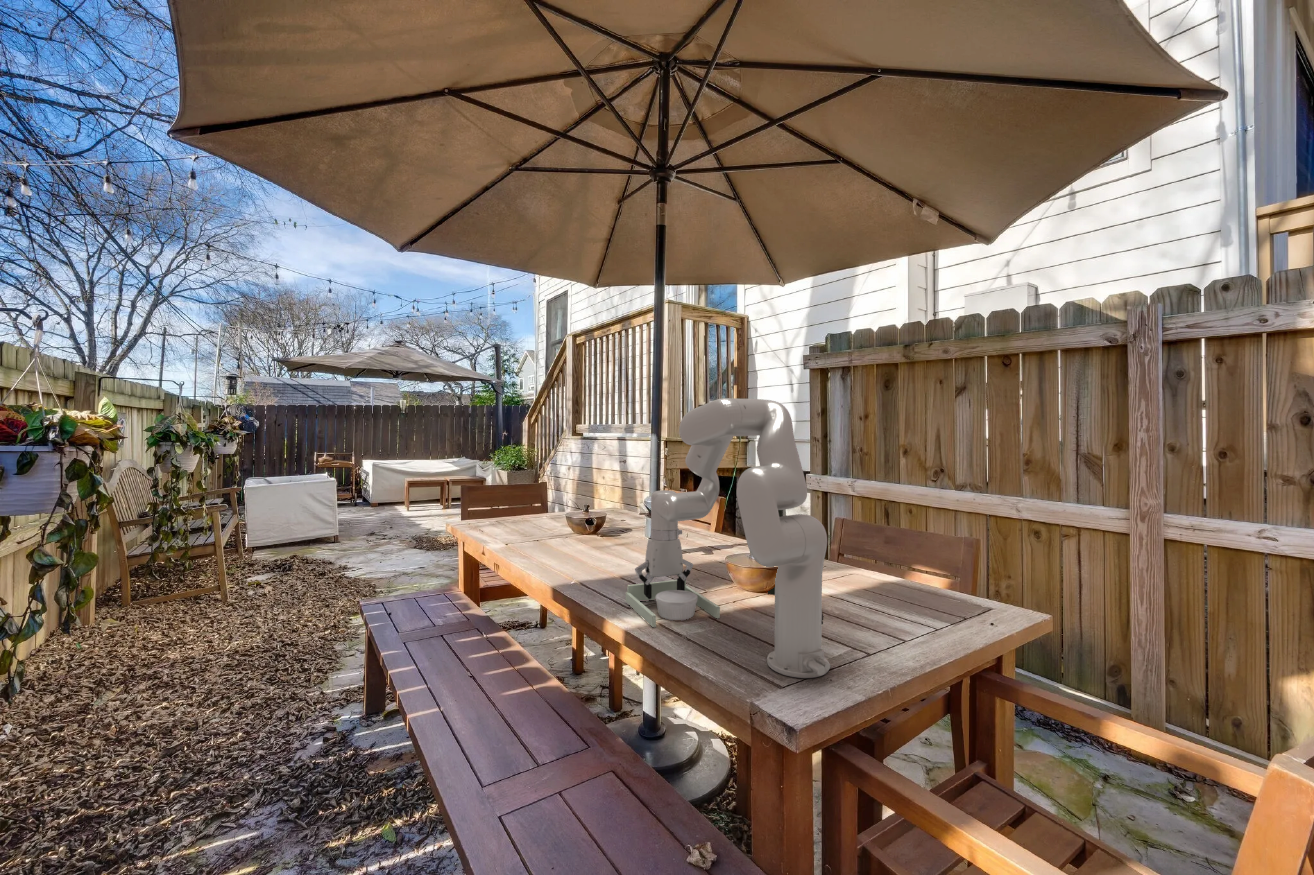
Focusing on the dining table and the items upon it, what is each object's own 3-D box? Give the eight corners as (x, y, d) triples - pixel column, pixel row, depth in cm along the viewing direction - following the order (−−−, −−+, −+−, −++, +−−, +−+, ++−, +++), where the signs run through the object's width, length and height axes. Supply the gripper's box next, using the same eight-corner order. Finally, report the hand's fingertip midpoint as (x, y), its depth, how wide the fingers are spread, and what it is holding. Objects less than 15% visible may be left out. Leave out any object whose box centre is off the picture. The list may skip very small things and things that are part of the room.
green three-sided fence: (719, 618, 143) (719, 599, 143) (652, 627, 136) (652, 607, 136) (686, 595, 163) (686, 578, 163) (625, 602, 156) (625, 585, 156)
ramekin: (698, 609, 151) (698, 590, 151) (697, 623, 140) (697, 603, 140) (657, 607, 152) (657, 589, 152) (653, 622, 141) (653, 601, 141)
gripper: (686, 530, 160) (686, 588, 161) (631, 534, 154) (631, 595, 154) (698, 535, 153) (698, 596, 154) (640, 539, 147) (640, 603, 147)
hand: (664, 595), depth 154 cm, fingers open, 9 cm apart
